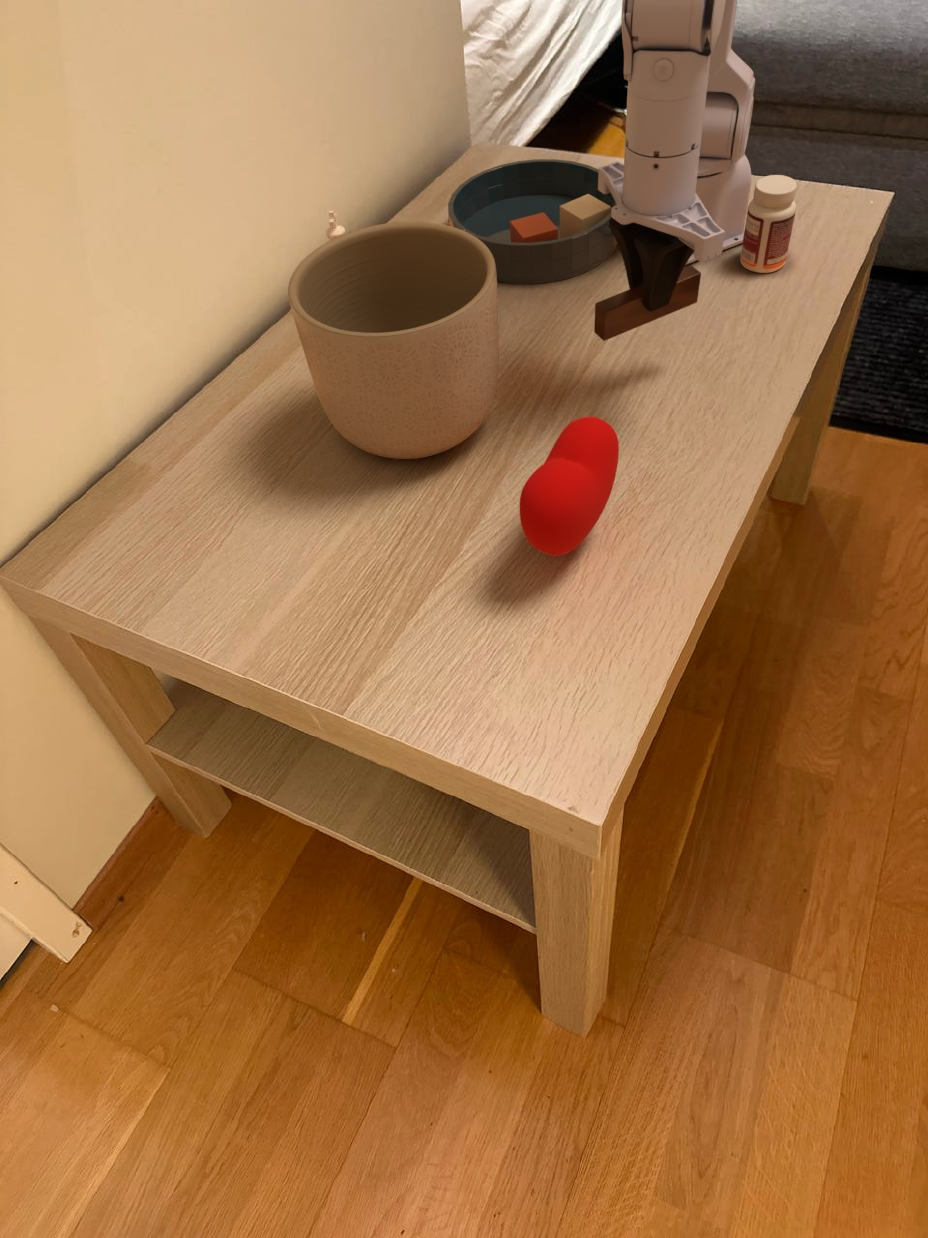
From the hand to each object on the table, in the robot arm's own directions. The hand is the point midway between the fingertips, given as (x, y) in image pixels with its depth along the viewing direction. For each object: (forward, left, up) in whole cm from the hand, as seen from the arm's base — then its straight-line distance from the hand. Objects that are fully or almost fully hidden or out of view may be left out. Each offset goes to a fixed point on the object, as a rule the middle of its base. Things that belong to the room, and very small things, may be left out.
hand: (649, 300), depth 79 cm
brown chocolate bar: (0, 0, -2) cm, 2 cm away
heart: (+17, +14, -8) cm, 24 cm away
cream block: (-8, -24, -8) cm, 26 cm away
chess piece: (+18, -29, -8) cm, 36 cm away
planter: (+21, -6, -8) cm, 24 cm away
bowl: (-5, -28, -8) cm, 30 cm away
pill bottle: (-22, -9, -8) cm, 25 cm away
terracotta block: (-2, -24, -8) cm, 25 cm away
